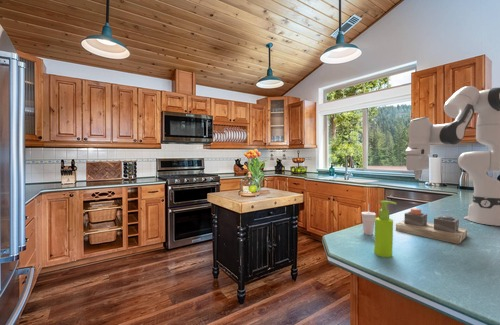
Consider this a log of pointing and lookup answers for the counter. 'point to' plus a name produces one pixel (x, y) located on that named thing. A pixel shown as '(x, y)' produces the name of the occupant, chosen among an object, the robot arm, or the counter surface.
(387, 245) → the soap dispenser
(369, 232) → the smoothie
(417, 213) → the terracotta button
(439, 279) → the counter surface
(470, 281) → the counter surface
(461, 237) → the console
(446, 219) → the grey cube
